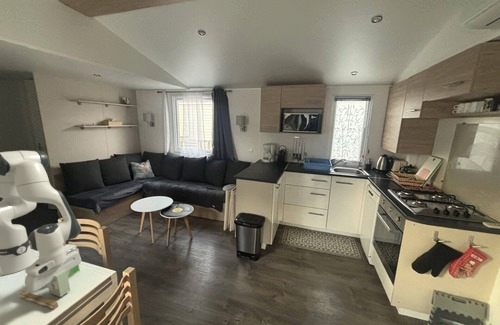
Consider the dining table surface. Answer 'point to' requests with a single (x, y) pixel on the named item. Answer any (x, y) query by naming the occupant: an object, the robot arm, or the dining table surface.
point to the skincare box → (75, 269)
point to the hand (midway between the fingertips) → (58, 284)
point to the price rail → (39, 300)
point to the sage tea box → (60, 284)
